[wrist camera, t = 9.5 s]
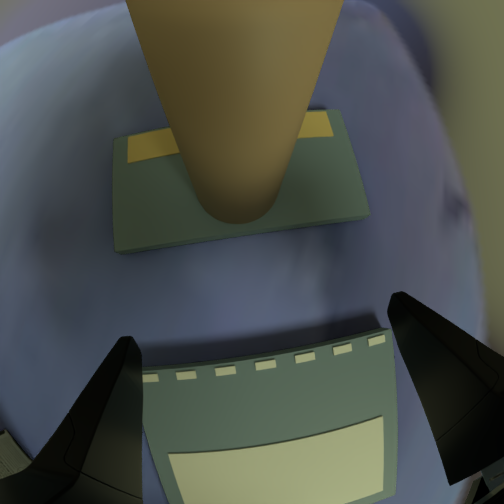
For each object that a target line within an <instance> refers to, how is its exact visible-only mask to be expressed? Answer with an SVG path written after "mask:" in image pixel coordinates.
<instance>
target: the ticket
mask: <svg viewBox="0 0 504 504" xmlns="http://www.w3.org/2000/svg"><path fill="white" fill-rule="evenodd" d="M142 375H143V418H142V422H143V426H144V430H145V433H146V437H147V440H148V444H149V447H150V450H151V453H152V457H153V460H154V463H155V466H156V469H157V472H158V475H159V478H160V480H161V483H162V486H163V489H164V491H165V494H166V497H167V499H168V502H169V504H372V503H374V502H377V501H380V500H382V499H385V498H388V497H390V496H393V495H395V491H396V475H397V447H398V422H397V392H396V375H395V362H394V351H393V341H392V332H391V329H388V328H378V329H374V330H370V331H366V332H362V333H358V334H354V335H350V336H346V337H342V338H338V339H333V340H329V341H324V342H319V343H315V344H310V345H305V346H300V347H295V348H289V349H284V350H279V351H273V352H267V353H261V354H255V355H248V356H242V357H235V358H228V359H220V360H212V361H204V362H195V363H185V364H175V365H163V366H149V367H142Z"/></svg>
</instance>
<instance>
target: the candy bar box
mask: <svg viewBox="0 0 504 504" xmlns="http://www.w3.org/2000/svg"><path fill="white" fill-rule="evenodd" d="M32 461H33V460H32V459H31V458H30V457H29V456H28V455H27V454H26V453H25V452H24V451H23V450H22V449H21V447H20V446H19V445H18V444H17V443H16V441H15V440H14V439H13V438H12V436H11V435H10V434H9V433H8V431H7V430H6V429H4V430H2V431H0V479H1V478H4V477H7V476H10V475H12V474H15V473H18V472H20V471H22V470H24V469H25V468H26V467H28V466H29V465H30V464H31V462H32Z"/></svg>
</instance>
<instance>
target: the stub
mask: <svg viewBox="0 0 504 504" xmlns="http://www.w3.org/2000/svg"><path fill="white" fill-rule="evenodd" d="M343 1H344V0H126V3H127V6H128V9H129V12H130V15H131V18H132V21H133V24H134V27H135V30H136V33H137V36H138V39H139V42H140V45H141V48H142V51H143V54H144V56H145V59H146V62H147V65H148V68H149V71H150V73H151V76H152V79H153V82H154V85H155V87H156V90H157V93H158V96H159V98H160V101H161V104H162V106H163V109H164V112H165V115H166V117H167V120H168V123H169V125H170V126H168V127H163V128H158V129H153V130H149V131H144V132H140V133H135V134H131V135H127V136H123V137H119V138H115V139H114V142H113V169H112V208H113V236H114V252H116V253H119V254H121V255H122V254H128V253H135V252H141V251H147V250H153V249H160V248H166V247H172V246H179V245H185V244H192V243H198V242H205V241H212V240H218V239H225V238H232V237H238V236H245V235H252V234H259V233H266V232H273V231H280V230H287V229H295V228H302V227H309V226H317V225H324V224H332V223H339V222H347V221H354V220H362V219H365V218H366V217H368V216H369V215H371V214H370V210H369V206H368V202H367V198H366V194H365V190H364V187H363V183H362V179H361V176H360V172H359V169H358V165H357V162H356V158H355V155H354V152H353V149H352V145H351V142H350V139H349V136H348V133H347V130H346V127H345V124H344V121H343V118H342V115H341V113H340V110H307V108H308V105H309V102H310V99H311V97H312V94H313V91H314V88H315V85H316V82H317V79H318V76H319V73H320V70H321V67H322V64H323V61H324V58H325V55H326V52H327V49H328V46H329V43H330V40H331V37H332V34H333V31H334V28H335V25H336V22H337V19H338V16H339V13H340V10H341V7H342V4H343Z"/></svg>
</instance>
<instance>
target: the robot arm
mask: <svg viewBox="0 0 504 504" xmlns="http://www.w3.org/2000/svg"><path fill="white" fill-rule="evenodd" d="M387 314H388V318H389V320H390V323H391V326H392V329H393V332H394V335H395V338H396V341H397V345H398V347H399V350H400V353H401V355H402V357H403V360H404V362H405V364H406V367H407V369H408V371H409V374H410V376H411V378H412V381H413V383H414V386H415V388H416V391H417V393H418V396H419V398H420V401H421V403H422V406H423V408H424V411H425V414H426V416H427V419H428V422H429V425H430V427H431V430H432V433H433V436H434V439H435V441H436V445H437V448H438V451H439V454H440V457H441V460H442V463H443V466H444V469H445V473H446V476H447V479H448V483H449V485H450V486H451V485H453V484H455V483H457V482H459V481H461V480H463V479H465V478H467V477H469V476H471V475H473V474H475V473H477V472H479V471H481V473H482V476H481V477H479V478H478V479H476V480H475V481H473V484H472V487H471V489H470V492H469V494H468V497H467V499H466V502H465V504H504V357H503V356H501V355H500V354H498V353H497V352H495V351H493V350H492V349H490V348H489V347H487V346H486V345H484V344H483V343H481V342H480V341H478V340H475V338H474V337H472V336H471V335H469V334H468V333H466V332H465V331H463V330H462V329H461V328H459V327H458V326H456V325H455V324H453V323H452V322H450V321H449V320H447V319H445V318H444V317H442V316H441V315H439V314H438V313H436V312H435V311H433V310H432V309H430V308H429V307H427V306H426V305H424V304H422V303H421V302H419V301H418V300H416V299H415V298H413V297H411V296H410V295H408V294H407V293H405V292H403V291H400V292H396V293H393V294H392V296H391V299H390V302H389V305H388V309H387ZM142 418H143V375H142V354H141V351H140V349H139V347H138V345H137V343H136V342H135V340H134V338H133V337H132V336H123V337H120V338H119V339H118V341H117V342H116V344H115V345H114V346H113V348H112V349H111V351H110V352H109V353H108V355H107V356H106V358H105V359H104V360H103V362H102V363H101V365H100V366H99V368H98V369H97V370H96V372H95V373H94V375H93V376H92V378H91V379H90V381H89V382H88V384H87V385H86V386H85V388H84V389H83V391H82V392H81V394H80V395H79V397H78V398H77V400H76V401H75V403H74V404H73V406H72V407H71V409H70V410H69V413H67V415H66V416H65V418H64V420H63V421H62V423H61V424H60V425H59V427H58V428H57V430H56V431H55V433H54V434H53V435H52V437H51V438H50V439H49V441H48V442H47V443H46V444H45V446H44V447H43V448H42V450H41V451H40V452H39V453H38V455H37V456H36V457H35V459H34V460H33V461H32V462H31V464H30V465H29V466H28V467H26V468H25V469H24V470H22V471H20V472H18V473H15V474H12V475H10V476H7V477H4V478H1V479H0V504H143V500H142Z"/></svg>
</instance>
